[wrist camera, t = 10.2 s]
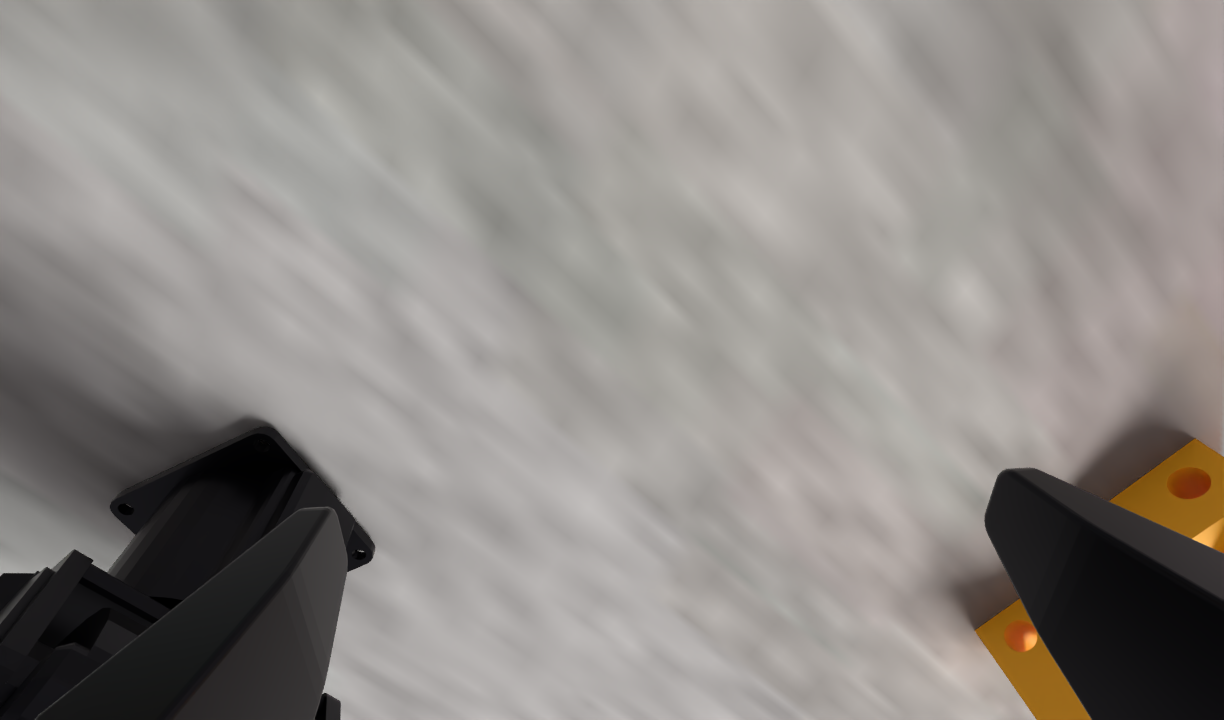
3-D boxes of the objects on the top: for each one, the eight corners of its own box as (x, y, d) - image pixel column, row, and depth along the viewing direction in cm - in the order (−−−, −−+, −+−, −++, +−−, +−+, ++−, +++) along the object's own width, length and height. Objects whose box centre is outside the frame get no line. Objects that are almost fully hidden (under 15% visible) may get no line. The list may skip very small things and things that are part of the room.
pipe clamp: (1191, 435, 27) (1366, 550, 21) (1236, 488, 29) (1409, 608, 23) (950, 611, 30) (1045, 750, 25) (1002, 649, 32) (1102, 788, 26)
